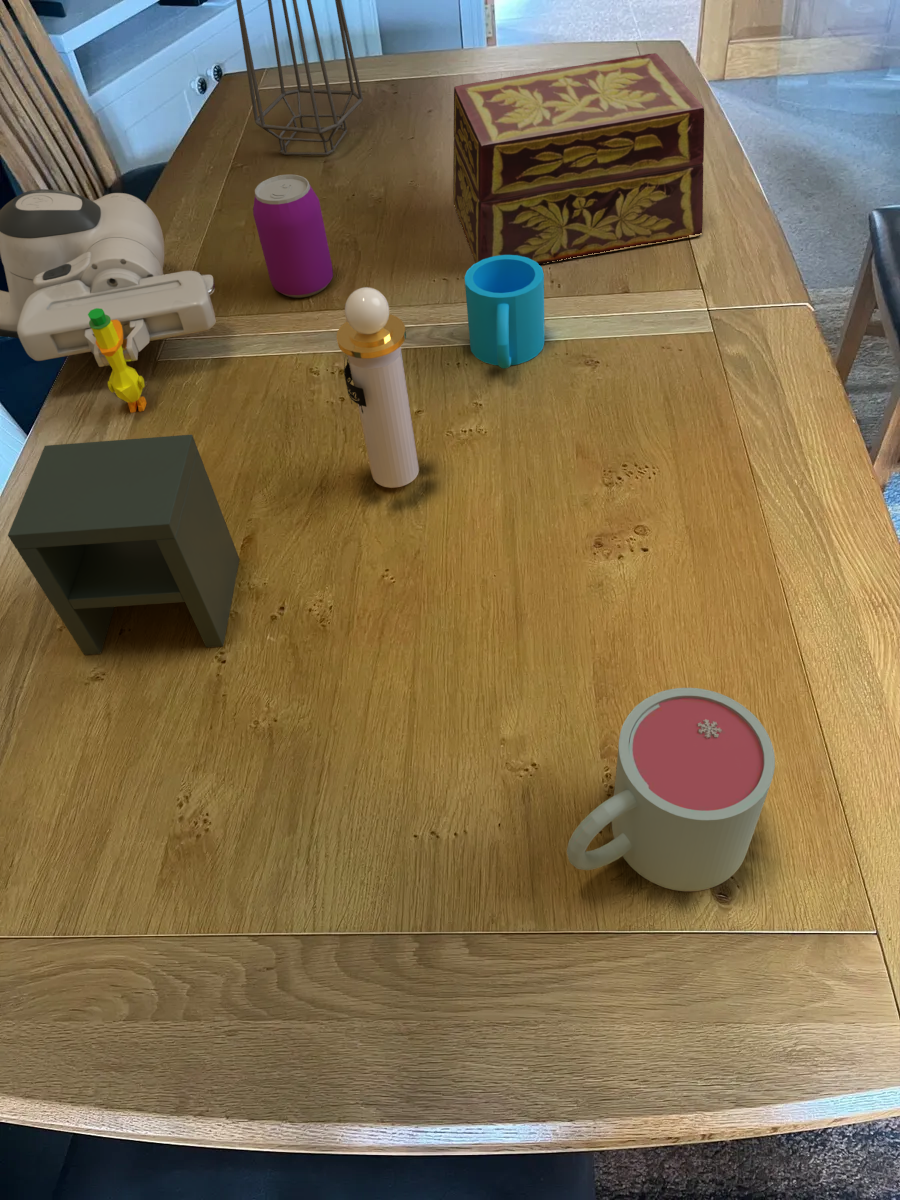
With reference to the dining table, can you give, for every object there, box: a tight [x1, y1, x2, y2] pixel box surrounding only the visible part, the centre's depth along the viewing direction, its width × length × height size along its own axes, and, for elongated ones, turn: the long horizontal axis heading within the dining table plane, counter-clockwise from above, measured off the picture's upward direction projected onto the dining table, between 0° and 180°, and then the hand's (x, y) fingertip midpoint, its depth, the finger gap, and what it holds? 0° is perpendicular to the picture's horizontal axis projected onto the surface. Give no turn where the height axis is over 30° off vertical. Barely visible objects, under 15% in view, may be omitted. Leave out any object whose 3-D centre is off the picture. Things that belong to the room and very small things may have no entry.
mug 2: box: [566, 687, 776, 892], centre depth 60 cm, size 14×9×10 cm
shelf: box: [7, 434, 240, 656], centre depth 76 cm, size 12×10×14 cm
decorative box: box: [452, 53, 705, 265], centre depth 113 cm, size 28×19×15 cm
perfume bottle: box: [336, 286, 420, 489], centre depth 82 cm, size 6×6×20 cm
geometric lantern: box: [235, 0, 364, 156], centre depth 126 cm, size 16×16×35 cm
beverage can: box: [252, 174, 334, 299], centre depth 110 cm, size 8×8×12 cm
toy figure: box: [88, 308, 148, 414], centre depth 96 cm, size 7×4×12 cm, turn 8°
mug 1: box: [464, 255, 546, 369], centre depth 98 cm, size 12×8×8 cm
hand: (115, 358), depth 95 cm, fingers closed on toy figure
